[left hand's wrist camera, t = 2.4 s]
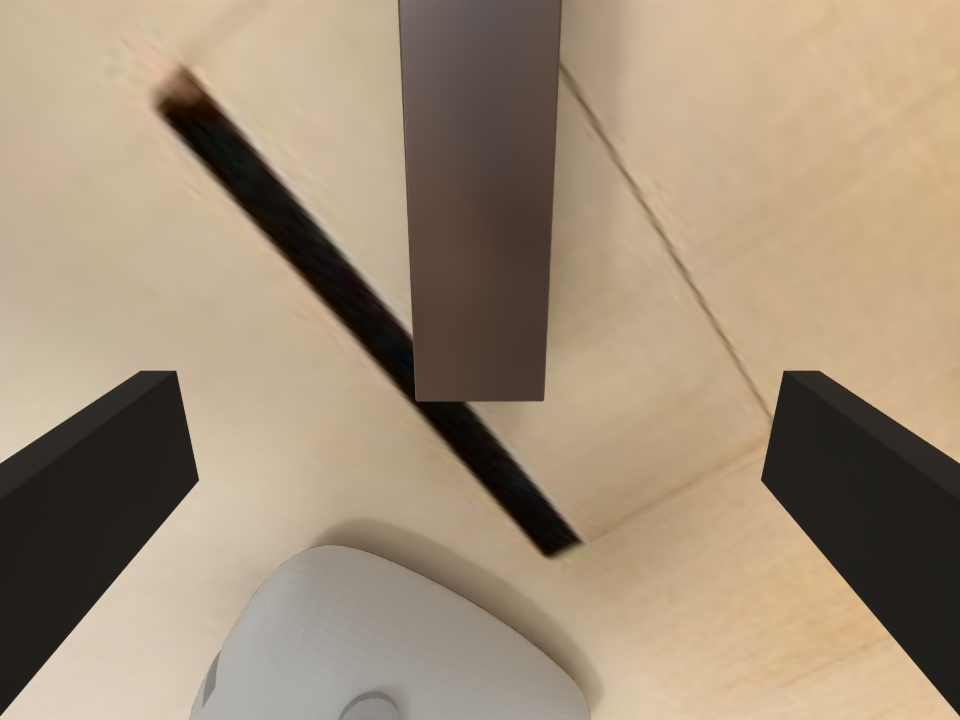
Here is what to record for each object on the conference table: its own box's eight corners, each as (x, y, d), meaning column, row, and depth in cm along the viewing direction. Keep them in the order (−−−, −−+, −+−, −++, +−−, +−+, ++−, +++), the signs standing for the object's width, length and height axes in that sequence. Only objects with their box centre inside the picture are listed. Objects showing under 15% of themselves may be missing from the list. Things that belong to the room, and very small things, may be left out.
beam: (432, 336, 29) (415, 402, 22) (409, -356, 20) (368, -655, 12) (527, 336, 29) (544, 402, 22) (550, -356, 20) (591, -655, 12)
